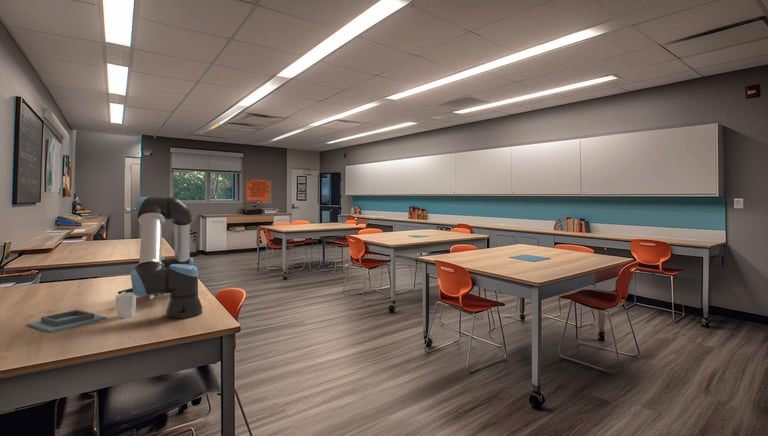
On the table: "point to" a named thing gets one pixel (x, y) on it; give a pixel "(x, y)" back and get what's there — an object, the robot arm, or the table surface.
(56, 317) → the glass holder
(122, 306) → the white cup
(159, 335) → the table surface
